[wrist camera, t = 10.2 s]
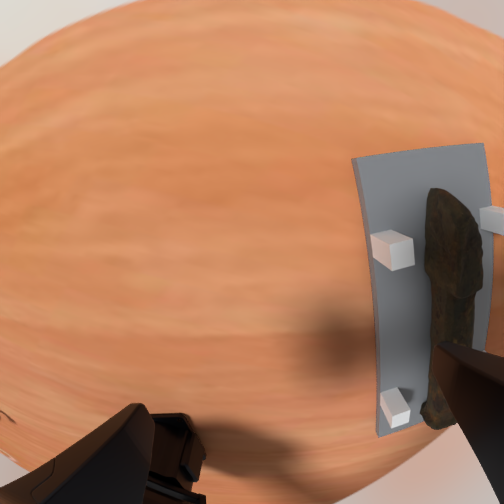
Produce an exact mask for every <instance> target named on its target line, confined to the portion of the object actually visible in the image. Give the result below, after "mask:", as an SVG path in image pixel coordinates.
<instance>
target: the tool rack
mask: <svg viewBox="0 0 504 504" xmlns="http://www.w3.org/2000/svg"><path fill="white" fill-rule="evenodd" d="M351 160H352V164H353V169H354V174H355V179H356V184H357V189H358V194H359V199H360V205H361V211H362V217H363V223H364V229H365V236H366V243H367V250H368V258H369V266H370V275H371V285H372V295H373V307H374V321H375V338H376V366H377V408H376V433H377V435H378V438H379V437H382V436H385V435H388V434H391V433H394V432H397V431H400V430H402V429H405V428H408V427H410V426H413V425H416V424H418V423H421V422H423V421H424V420H423V418H422V415H421V414H420V409H421V405H422V403H423V402H426V401H427V397H428V382H429V380H428V373H429V363H430V353H431V338H430V328H431V313H432V311H431V306H432V295H431V282H430V278H429V276H428V275H427V274H426V272H425V267H424V263H425V245H426V240H425V220H426V203H427V197H428V193H429V190H430V188H441V189H444V190H446V191H448V192H449V193H451V194H452V195H453V196H455V197H456V198H457V199H458V200H459V201H461V202H462V203H463V204H464V205H465V206H466V207H467V208H468V209H469V210H470V211H471V214H472V216H473V217H474V218H475V221H476V222H477V224H478V229H479V232H480V234H481V238H482V249H483V257H482V266H483V287H482V289H481V290H479V291H477V293H476V296H475V320H474V335H473V344H472V348H473V349H476V350H479V351H483V352H486V351H485V350H484V349H485V344H486V338H487V331H488V324H489V316H490V307H491V296H492V282H493V232H494V233H497V234H500V235H503V236H504V208H501V207H496V206H492V202H491V191H490V182H489V174H488V167H487V161H486V155H485V149H484V143H474V144H462V145H451V146H441V147H432V148H423V149H415V150H407V151H400V152H393V153H386V154H379V155H372V156H366V157H360V158H354V159H351ZM486 353H487V352H486Z"/></svg>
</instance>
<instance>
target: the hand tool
mask: <svg viewBox="0 0 504 504" xmlns="http://www.w3.org/2000/svg"><path fill="white" fill-rule="evenodd" d="M425 240H426V245H425V263H424V267H425V272H426V274H427V275H428V276H429V278H430V282H431V295H432V306H431V311H432V313H431V328H430V338H431V353H430V363H429V373H428V380H429V382H428V397H427V401H426V402H423V403H422V405H421V409H420V414H421V415H422V418H423V420H424V421H425V423H426V424H427V425H428V426H430V427H431V428H432V429H434V430H435V429H436V430H439V429H442V428H446V427H448V426H450V425H455V424H456V423H457V421H456V419H455V417H454V416H453V414H452V412H451V410H450V409H449V406H448V404H447V402H446V400H445V398H444V395H443V393H442V391H441V389H440V387H439V385H438V382H437V380H436V378H435V376H434V374H433V371H432V360H433V350H434V346H435V345H436V344H438V343H441V342H444V341H449V342H452V343H456V344H459V345H462V346H466V347H469V348H472V344H473V335H474V320H475V296H476V293H477V291H479V290H481V289H482V287H483V266H482V257H483V249H482V238H481V234H480V232H479V229H478V224H477V222H476V221H475V218H474V217H473V216H472V214H471V211H470V210H469V209H468V208H467V207H466V206H465V205H464V204H463V203H462V202H461V201H459V200H458V199H457V198H456V197H455V196H453V195H452V194H451V193H449V192H448V191H446V190H444V189H441V188H430V190H429V193H428V197H427V203H426V220H425Z"/></svg>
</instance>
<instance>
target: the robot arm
mask: <svg viewBox="0 0 504 504" xmlns="http://www.w3.org/2000/svg"><path fill="white" fill-rule="evenodd" d="M432 371H433V374H434V376H435V378H436V380H437V382H438V385H439V387H440V389H441V391H442V393H443V395H444V398H445V400H446V402H447V404H448V406H449V409H450V410H451V412H452V414H453V416H454V417H455V419H456V421H457V423H458V424H459V426H460V428H461V429H462V431H463V433H464V435H465V436H466V438H467V440H468V442H469V444H470V445H471V447H472V449H473V451H474V453H475V454H476V456H477V458H478V460H479V462H480V464H481V466H482V468H483V470H484V472H485V474H486V476H487V478H488V480H489V481H490V483H491V486H492V488H493V490H494V492H495V494H496V496H497V498H498V500H499V502H500V504H504V357H500V356H497V355H493V354H490V353H486V352H483V351H479V350H476V349H473V348H469V347H466V346H462V345H459V344H456V343H452V342H449V341H444V342H441V343H438V344H436V345H435V346H434V350H433V360H432ZM180 419H181V420H180ZM205 459H206V453H205V452H204V447H203V446H202V444H201V442H200V440H199V438H198V437H197V435H196V433H194V432H193V430H192V428H191V426H190V424H189V423H188V421H187V419H186V417H185V416H184V415H182V414H163V415H150V414H149V412H148V410H147V408H146V407H145V405H144V404H142V403H131V404H129V405H128V406H127V407H125V408H124V409H122V410H121V411H120V412H118V413H117V414H116V415H114V416H113V417H112V418H110V419H109V420H107V421H106V422H105V423H103V424H102V425H100V426H99V427H98V428H96V429H95V430H93V431H92V432H91V433H89V434H88V435H86V436H85V437H83V438H82V439H81V440H79V441H78V442H76V443H75V444H73V445H72V446H70V447H69V448H68V449H66V450H65V451H63V452H62V453H60V454H59V455H57V456H56V458H53V459H51V460H50V461H48V462H47V463H45V464H44V465H42V466H40V467H39V468H37V469H35V470H34V471H32V472H30V473H28V474H26V475H25V476H23V477H21V478H19V479H17V480H15V481H13V482H11V483H9V484H7V485H5V486H3V487H0V504H206V495H203V494H200V493H199V494H197V493H194V492H191V490H192V485H193V482H197V481H198V480H199V476H200V471H201V466H202V460H205Z"/></svg>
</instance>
